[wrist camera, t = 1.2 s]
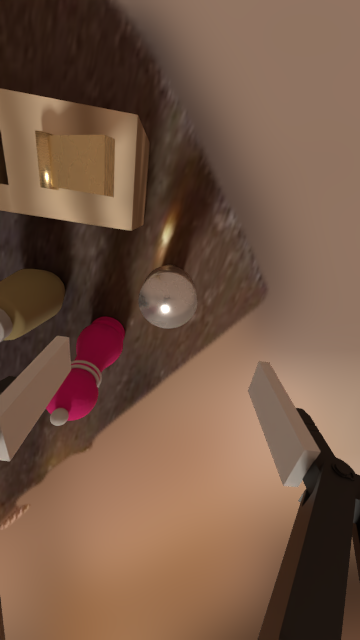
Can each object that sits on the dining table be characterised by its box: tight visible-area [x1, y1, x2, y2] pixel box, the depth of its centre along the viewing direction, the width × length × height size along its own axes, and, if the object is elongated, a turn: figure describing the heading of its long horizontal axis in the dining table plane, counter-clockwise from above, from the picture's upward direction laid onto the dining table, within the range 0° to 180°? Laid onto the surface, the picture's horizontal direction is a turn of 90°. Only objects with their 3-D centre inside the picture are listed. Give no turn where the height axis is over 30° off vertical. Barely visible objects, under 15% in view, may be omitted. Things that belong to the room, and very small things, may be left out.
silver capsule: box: [139, 264, 197, 328], centre depth 32 cm, size 7×7×12 cm
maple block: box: [0, 88, 150, 231], centre depth 27 cm, size 20×10×10 cm, turn 82°
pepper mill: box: [46, 317, 125, 426], centre depth 33 cm, size 7×7×20 cm
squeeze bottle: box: [0, 269, 65, 342], centre depth 30 cm, size 8×8×18 cm
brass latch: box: [35, 130, 115, 197], centre depth 20 cm, size 9×4×2 cm
